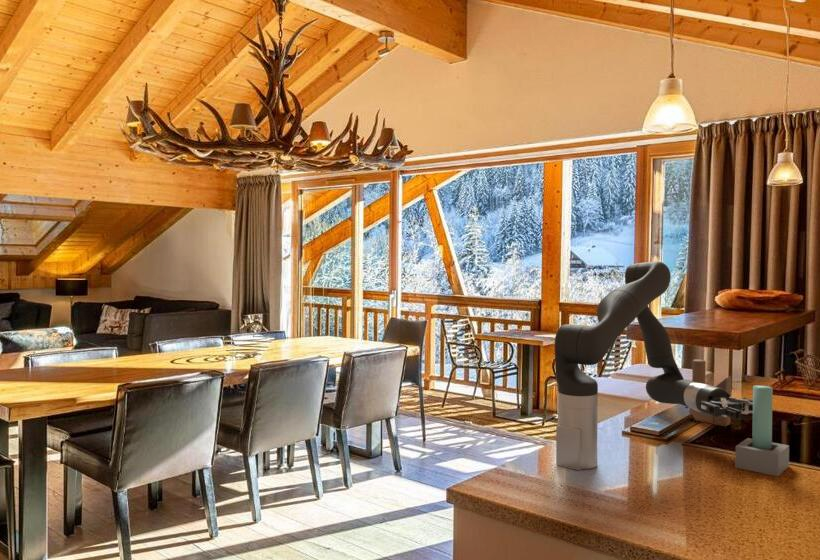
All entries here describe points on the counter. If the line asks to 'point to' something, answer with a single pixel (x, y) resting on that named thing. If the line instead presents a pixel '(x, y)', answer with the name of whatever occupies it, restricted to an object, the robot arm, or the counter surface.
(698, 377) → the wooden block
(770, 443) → the peg
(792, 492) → the counter surface
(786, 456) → the socket block
